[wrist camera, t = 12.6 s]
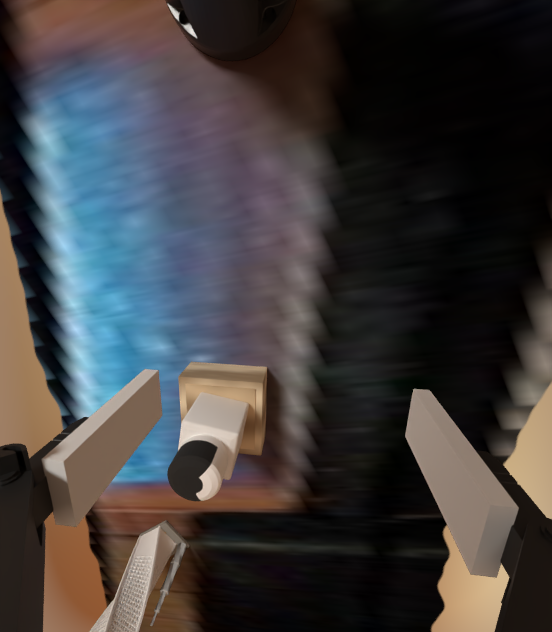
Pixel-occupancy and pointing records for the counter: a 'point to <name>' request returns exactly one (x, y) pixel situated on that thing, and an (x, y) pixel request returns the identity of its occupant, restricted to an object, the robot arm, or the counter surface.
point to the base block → (230, 395)
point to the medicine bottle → (207, 446)
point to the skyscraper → (143, 579)
